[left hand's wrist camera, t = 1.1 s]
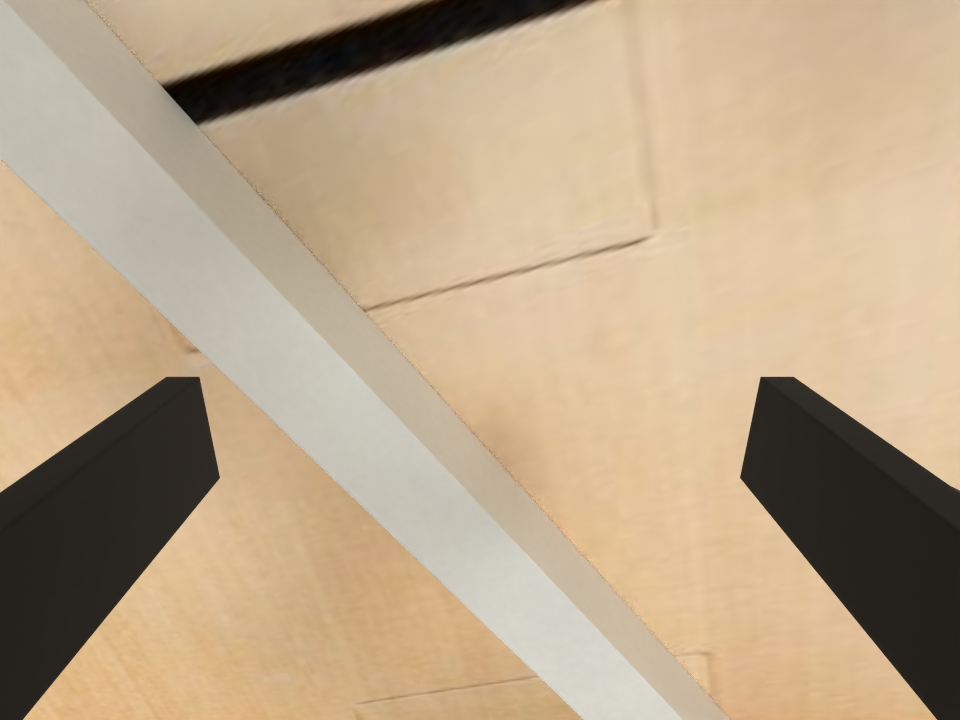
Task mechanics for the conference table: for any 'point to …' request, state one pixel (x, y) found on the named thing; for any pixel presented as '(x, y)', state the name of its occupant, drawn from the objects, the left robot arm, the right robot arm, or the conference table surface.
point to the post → (311, 356)
